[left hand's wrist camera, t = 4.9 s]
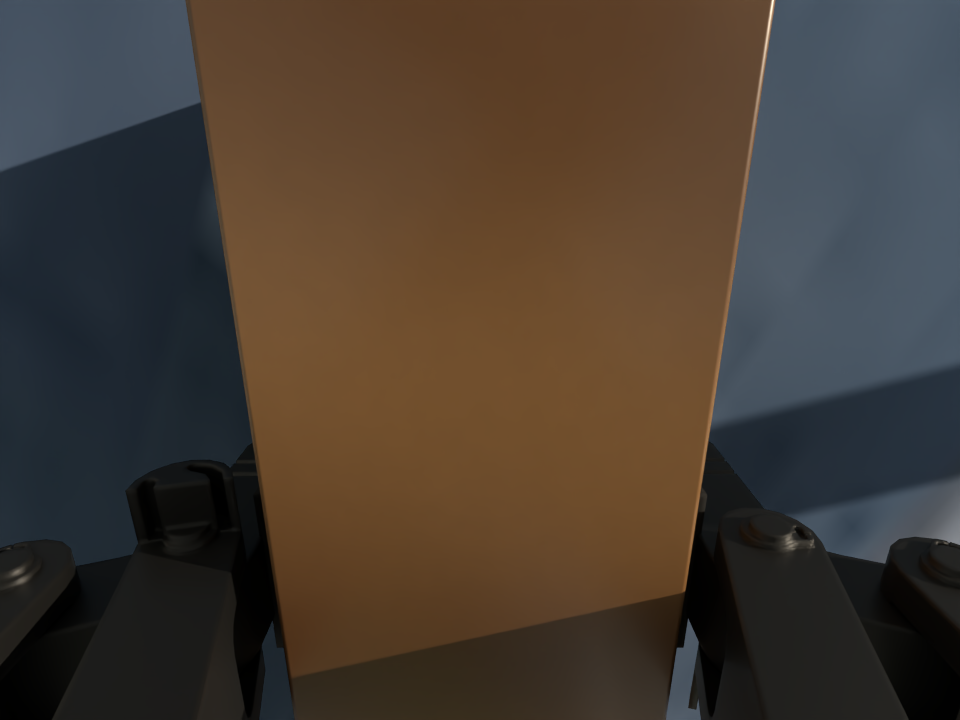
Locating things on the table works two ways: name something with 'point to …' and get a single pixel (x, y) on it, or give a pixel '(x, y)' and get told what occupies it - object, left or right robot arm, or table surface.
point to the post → (480, 332)
